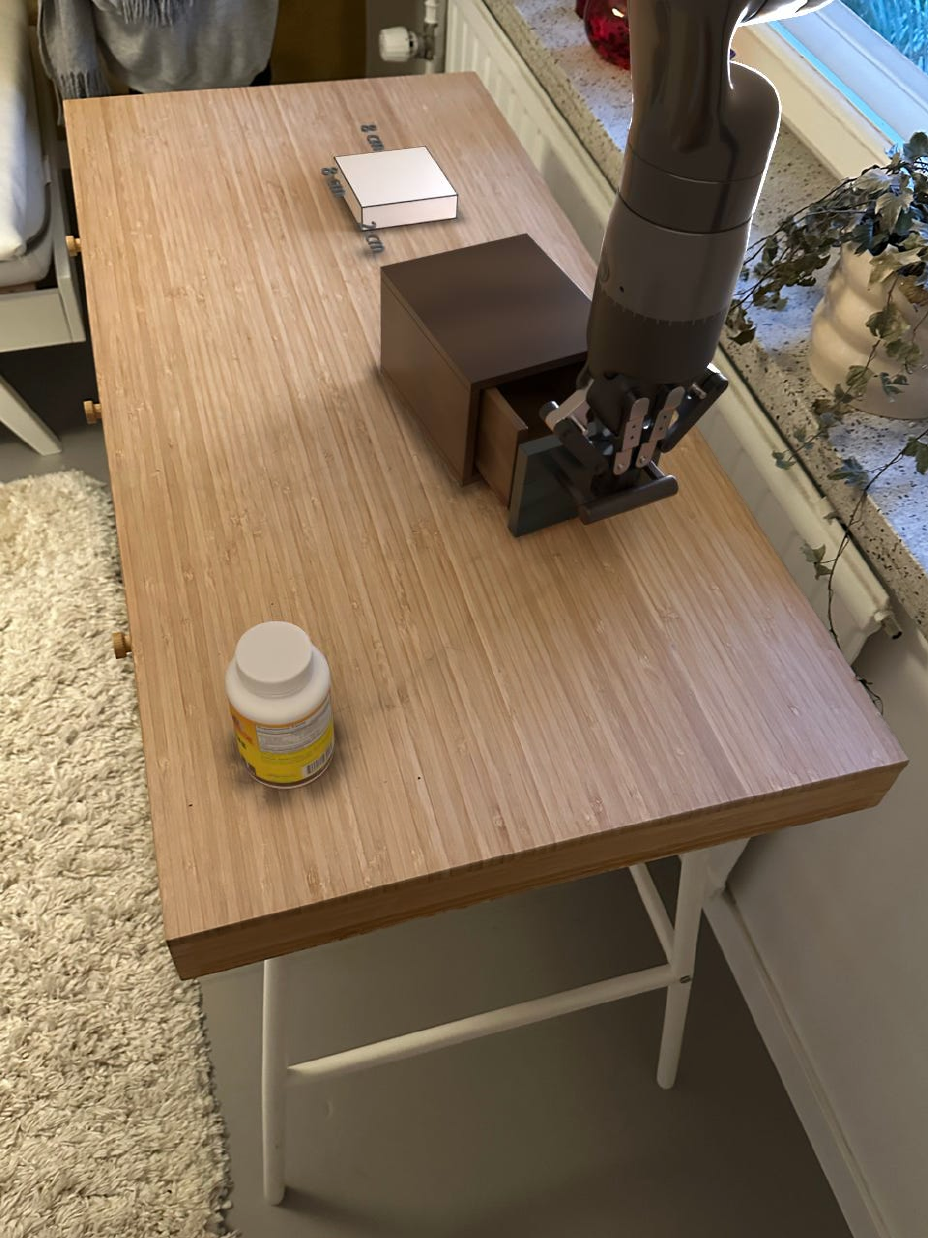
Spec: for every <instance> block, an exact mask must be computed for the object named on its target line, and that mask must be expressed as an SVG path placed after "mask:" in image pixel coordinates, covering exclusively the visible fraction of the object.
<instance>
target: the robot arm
mask: <svg viewBox="0 0 928 1238" xmlns="http://www.w3.org/2000/svg"><path fill="white" fill-rule="evenodd" d="M832 1H834V0H626V4H627V17H628V18H627V19H628V31H629V33H628V34H629V52H630V53H629V54H630V76H631V91H632V93H631V94H632V114H631V115H632V116H631V120H630V124H629V128H628V133H627V139H626V142H625V143H626V144H625V148H624V153H623V159H622V164H621V169H620V175H619V180H618V186H617V190H616V194H615V197H614V200H613V203H612V206H611V208H610V212H609V215H608V218H607V221H606V225H605V229H604V233H603V238H602V244H601V250H600V254H599V260H598V266H597V270H596V275H595V281H594V286H593V287H594V288H593V293H592V298H591V300H592V302H591V308H590V313H589V318H588V323H587V329H586V338H587V350H588V359H587V361H586V364H585V366H584V367H583V369H582V370H581V372H580V373H579V375H578V377H577V380H576V389H577V391H576V392H575V393H574V394H573V395H572V396H570V397H569V398H568V399H567V400H566V401H565V402H564V403H563V404H562V405H560V406H558V405H557V404H556V403H555V402H548V403H546V404H544V405H543V406H542V407H541V409H540V411H539V415H540V417H541V418H542V419H543V421H544V422H545V423H546V424H547V426H548V427H549V428H550V429H551V431H552V432H553V433H554V434H555V435H556V437H557V438H558V439H559V440H560V442H561V443H562V444H563V445H564V446H565V447H566V448H567V449H568V450H569V451H570V452H571V453H572V454H573V455H574V456H575V457H576V458H577V459H578V460H579V461H580V462H581V463H582V464H583V465H584V466H585V467H586V468H587V469H588V470H589V471H590V472H591V473H592V474H593V476H592V477H593V478H592V481H591V485H590V490H591V493H592V494H593V496H594V497H595V498H596V499H599V498H602V497H605V496H608V495H611V494H614V493H617V492H620V491H623V490H626V489H629V488H632V487H635V486H638V482H639V479H640V475H641V471H642V468H643V467H644V466H645V465H647V464H648V463H649V462H650V460H651V458H652V455H653V453H654V452H656V451H658V450H660V451H661V454H667V453H669V452H671V451H672V450H673V449H674V448H675V447H676V446H677V445H678V444H679V443H680V441H681V440H682V439H683V438H684V437H685V436H686V435H687V434H688V432H689V431H690V430H692V428H693V427H694V426H695V425H696V424H697V422H699V420H700V419H701V418H702V417H704V415H705V414H706V412H708V410H709V409H710V408H711V407H712V406H713V405H714V404H715V403H716V401H718V399H720V397H721V396H722V395H723V394H724V393H725V392H726V390H727V389H728V387H729V385H730V382H729V380H728V379H727V378H726V376H725V377H724V375H723V374H722V372H721V371H720V370H719V369H718V368H716V367H715V366H714V365H713V363H712V362H713V359H714V358H715V355H716V353H717V349H718V346H719V342H720V340H721V337H722V333H723V330H724V327H725V323H726V321H727V318H728V317H727V316H728V315H729V311H730V308H731V304H732V301H733V298H734V294H735V291H736V288H737V285H738V281H739V278H740V275H741V272H742V269H743V266H744V263H745V259H746V255H747V250H748V246H749V241H750V233H751V227H752V221H753V217H754V212H755V210H756V207H757V204H758V200H759V197H760V193H761V191H762V187H763V184H764V181H765V178H766V174H767V170H768V168H769V164H770V161H771V157H772V155H773V151H774V149H775V146H776V141H777V137H778V134H779V128H780V124H781V116H782V115H781V114H782V104H781V100H780V96H779V93H778V90H777V89H776V87H775V85H774V84H773V83H772V82H771V80H769V78H767V76H765V75H763V74H762V73H761V72H759V71H757V70H756V69H754V68H752V67H749V66H748V65H745V64H742V63H739V62H736V61H732V60H730V49H731V43H732V39H733V36H734V34H735V33H736V30H737V28H738V27H742V26H748V25H753V24H758V23H759V24H760V23H765V22H770V21H777V20H783V19H788V18H792V17H793V18H794V17H798V16H803V15H806V14H808V13H811V12H814V11H816V10H817V11H818V10H819V9H821V8H823V7H825V6H826V5H828V4H830V3H832ZM589 409H591V411H592V412H593V413H594V415H593V420H594V423H595V426H596V435H595V441H590V440H589V439H588V438H587V437H586V436H585V435H587V434H588V432H589V430H588V429H587V427H586V425H587V422H588V420H587V418H586V414H587V411H588V410H589ZM675 412H676V413H677V415H678V417H677V419H676V420H675V421H674V422H673V423H672V425H671V422H672V420H673V417H674V413H675ZM670 425H671V426H670Z"/></svg>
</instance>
